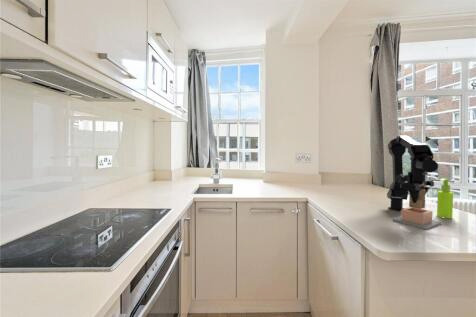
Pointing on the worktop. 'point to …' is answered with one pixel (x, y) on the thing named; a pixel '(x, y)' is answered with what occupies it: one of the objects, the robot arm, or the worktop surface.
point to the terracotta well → (417, 218)
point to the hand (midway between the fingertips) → (416, 202)
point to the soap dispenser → (445, 200)
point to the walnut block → (418, 200)
